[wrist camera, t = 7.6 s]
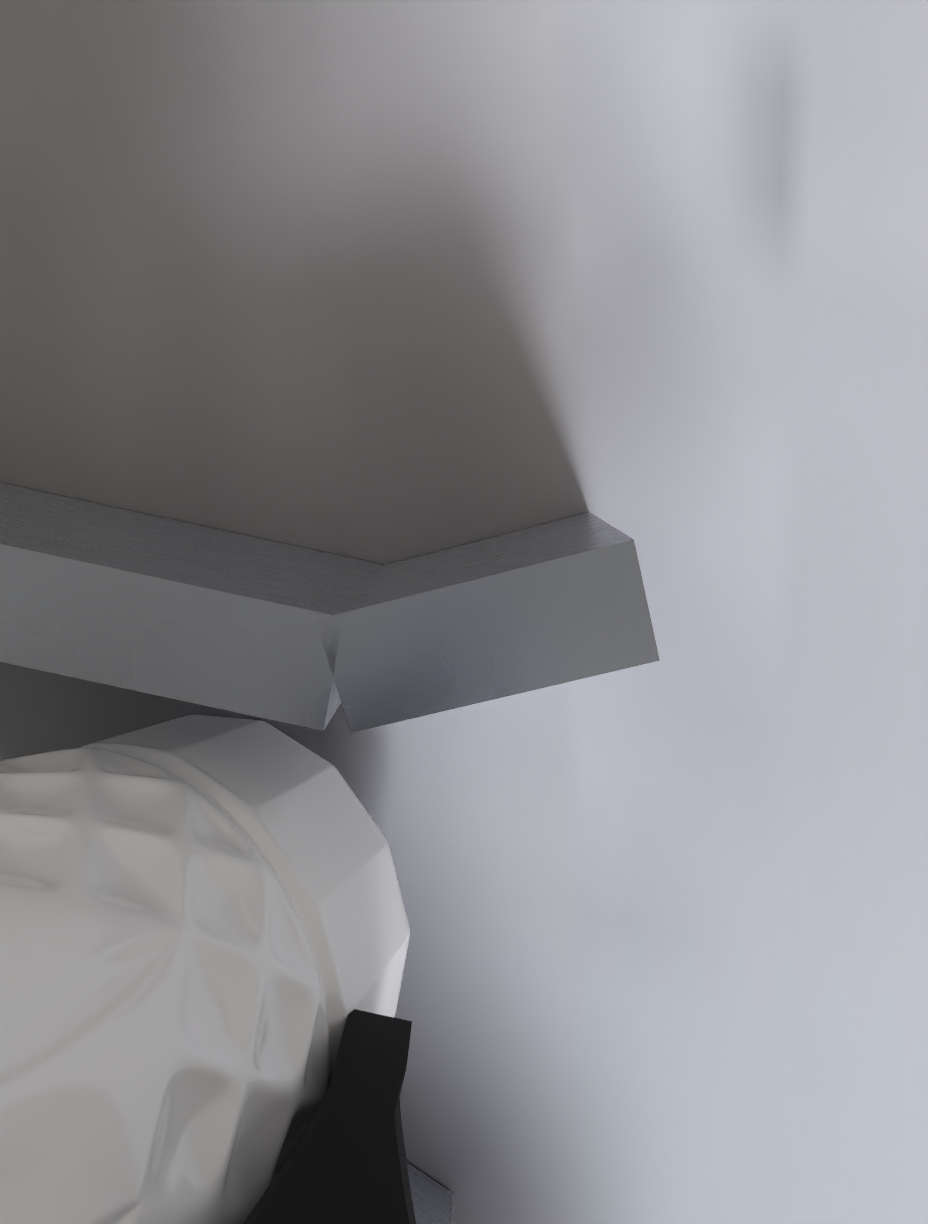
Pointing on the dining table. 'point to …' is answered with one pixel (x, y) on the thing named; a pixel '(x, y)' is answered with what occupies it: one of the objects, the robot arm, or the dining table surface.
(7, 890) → the white cup
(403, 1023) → the robot arm
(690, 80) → the dining table surface
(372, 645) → the tray
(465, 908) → the dining table surface
